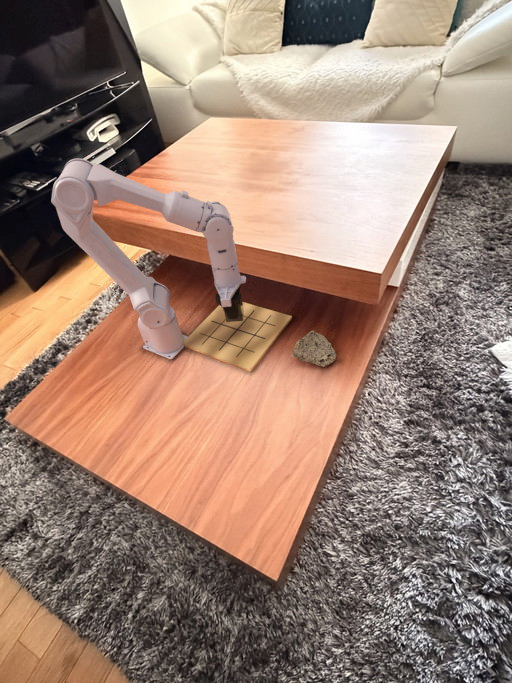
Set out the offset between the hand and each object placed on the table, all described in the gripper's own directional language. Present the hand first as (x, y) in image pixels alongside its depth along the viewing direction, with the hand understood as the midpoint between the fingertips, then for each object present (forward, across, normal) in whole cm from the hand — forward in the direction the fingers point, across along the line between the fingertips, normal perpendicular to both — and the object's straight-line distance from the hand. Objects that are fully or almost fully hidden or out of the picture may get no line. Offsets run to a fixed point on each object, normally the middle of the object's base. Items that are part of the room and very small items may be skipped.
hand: (234, 311), depth 92 cm
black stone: (+1, 0, 0) cm, 1 cm away
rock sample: (+7, -10, -19) cm, 22 cm away
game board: (+6, 0, 0) cm, 6 cm away
